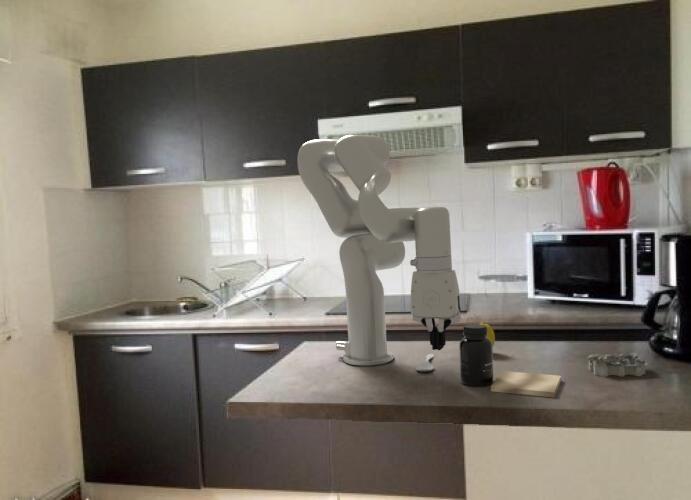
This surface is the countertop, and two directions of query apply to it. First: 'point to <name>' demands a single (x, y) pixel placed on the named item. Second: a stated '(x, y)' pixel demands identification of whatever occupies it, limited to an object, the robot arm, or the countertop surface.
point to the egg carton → (617, 364)
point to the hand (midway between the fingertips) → (438, 348)
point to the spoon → (426, 364)
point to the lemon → (490, 333)
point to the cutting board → (527, 384)
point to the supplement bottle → (476, 356)
